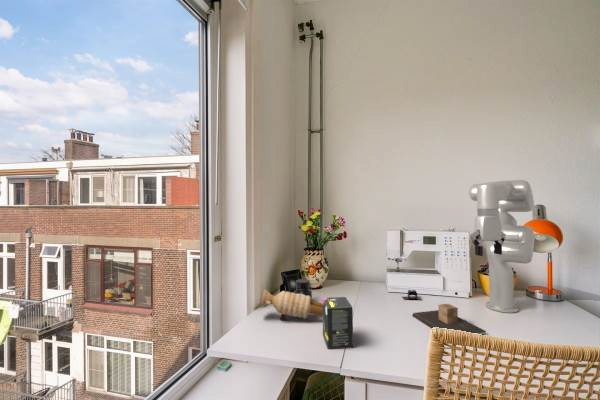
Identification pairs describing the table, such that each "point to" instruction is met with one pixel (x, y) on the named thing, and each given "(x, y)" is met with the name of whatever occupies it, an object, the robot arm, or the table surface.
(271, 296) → the tan long ribbed piece
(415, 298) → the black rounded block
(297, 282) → the ink bottle
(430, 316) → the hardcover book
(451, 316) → the walnut block
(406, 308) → the table surface
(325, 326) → the tampon box
